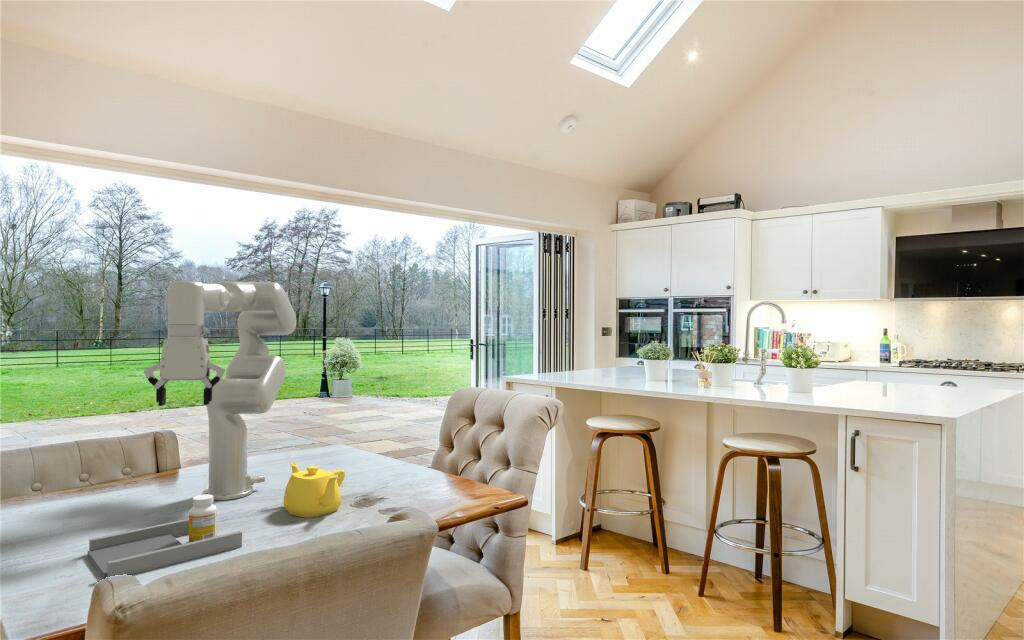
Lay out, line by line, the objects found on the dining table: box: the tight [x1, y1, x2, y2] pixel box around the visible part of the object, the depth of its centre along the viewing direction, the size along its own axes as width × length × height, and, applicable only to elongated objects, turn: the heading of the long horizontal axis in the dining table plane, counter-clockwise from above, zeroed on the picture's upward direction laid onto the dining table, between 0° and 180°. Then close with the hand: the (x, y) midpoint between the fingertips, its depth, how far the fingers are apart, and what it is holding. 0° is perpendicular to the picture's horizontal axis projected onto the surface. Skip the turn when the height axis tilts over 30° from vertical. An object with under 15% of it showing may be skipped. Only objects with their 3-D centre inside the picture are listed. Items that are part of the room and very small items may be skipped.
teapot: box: [283, 461, 346, 518], centre depth 156 cm, size 22×16×11 cm
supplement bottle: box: [188, 494, 218, 543], centre depth 132 cm, size 5×5×10 cm
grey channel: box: [87, 518, 243, 579], centre depth 127 cm, size 24×17×3 cm
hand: (184, 404), depth 145 cm, fingers open, 9 cm apart
